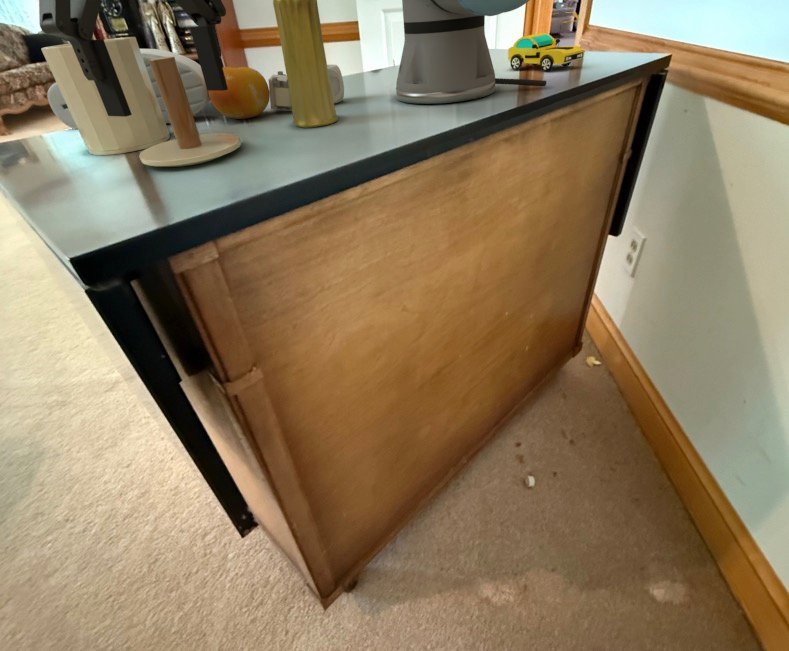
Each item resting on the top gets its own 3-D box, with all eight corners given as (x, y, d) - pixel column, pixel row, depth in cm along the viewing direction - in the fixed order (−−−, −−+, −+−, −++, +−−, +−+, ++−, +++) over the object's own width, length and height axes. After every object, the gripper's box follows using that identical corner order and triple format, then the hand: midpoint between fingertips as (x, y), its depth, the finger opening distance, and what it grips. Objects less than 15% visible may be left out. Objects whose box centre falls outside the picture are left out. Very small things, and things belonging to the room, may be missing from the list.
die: (308, 102, 77) (302, 67, 74) (337, 97, 78) (333, 63, 75) (315, 106, 73) (309, 70, 70) (346, 101, 74) (341, 66, 71)
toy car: (503, 70, 87) (506, 17, 82) (529, 64, 90) (533, 12, 86) (559, 73, 79) (565, 14, 74) (585, 66, 83) (593, 9, 78)
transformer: (291, 90, 87) (318, 93, 88) (270, 120, 72) (302, 123, 72) (289, 54, 84) (317, 57, 84) (266, 77, 68) (301, 80, 69)
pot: (180, 130, 68) (148, 34, 61) (154, 150, 60) (112, 41, 53) (110, 138, 68) (70, 43, 61) (74, 158, 60) (22, 51, 53)
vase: (315, 116, 68) (294, -3, 60) (347, 118, 65) (330, -7, 57) (285, 126, 64) (258, 0, 56) (318, 129, 61) (294, -4, 53)
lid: (251, 139, 60) (227, 47, 54) (230, 165, 51) (198, 58, 45) (163, 148, 60) (130, 58, 54) (126, 176, 51) (81, 71, 45)
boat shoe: (183, 44, 64) (218, 31, 72) (21, 66, 71) (69, 52, 79) (211, 122, 71) (241, 102, 78) (61, 135, 78) (101, 116, 85)
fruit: (281, 88, 67) (243, 38, 65) (235, 123, 66) (194, 72, 64) (277, 109, 75) (243, 65, 73) (235, 140, 74) (199, 95, 72)
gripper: (171, -140, 50) (228, 81, 62) (-115, -197, 32) (43, 128, 44) (222, -155, 47) (271, 81, 59) (-63, -227, 29) (91, 130, 41)
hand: (173, 102), depth 52 cm, fingers open, 13 cm apart
